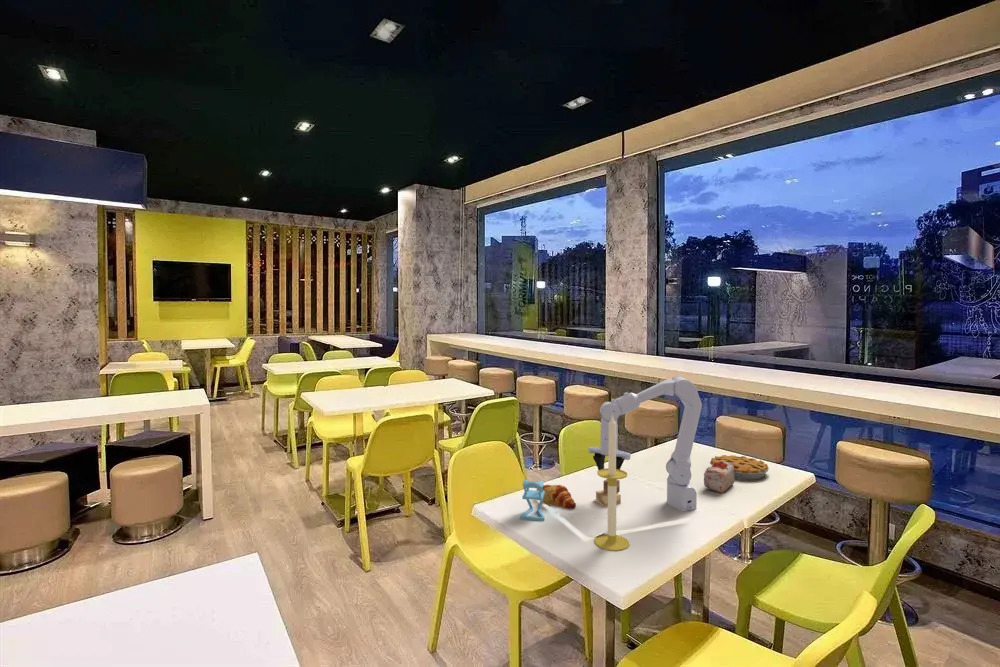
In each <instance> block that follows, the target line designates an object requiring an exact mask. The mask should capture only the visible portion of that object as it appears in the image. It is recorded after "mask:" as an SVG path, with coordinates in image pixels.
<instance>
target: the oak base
mask: <svg viewBox="0 0 1000 667" xmlns="http://www.w3.org/2000/svg"><path fill="white" fill-rule="evenodd" d="M595 499H596V500H597V501H598V502H600V503H601V504H603V505H604V506H608V493H604V489H602V490H596V491H595ZM621 499H622V494H620V493H619V492H618V493H617V498H616V504H621V503H622V502H621V501H622V500H621ZM597 501H596V502H597ZM598 502H597V503H598ZM600 503H599V504H600ZM601 504H600V505H601ZM603 505H602V506H603ZM621 505H622V504H621ZM604 506H603V507H604Z"/></svg>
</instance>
